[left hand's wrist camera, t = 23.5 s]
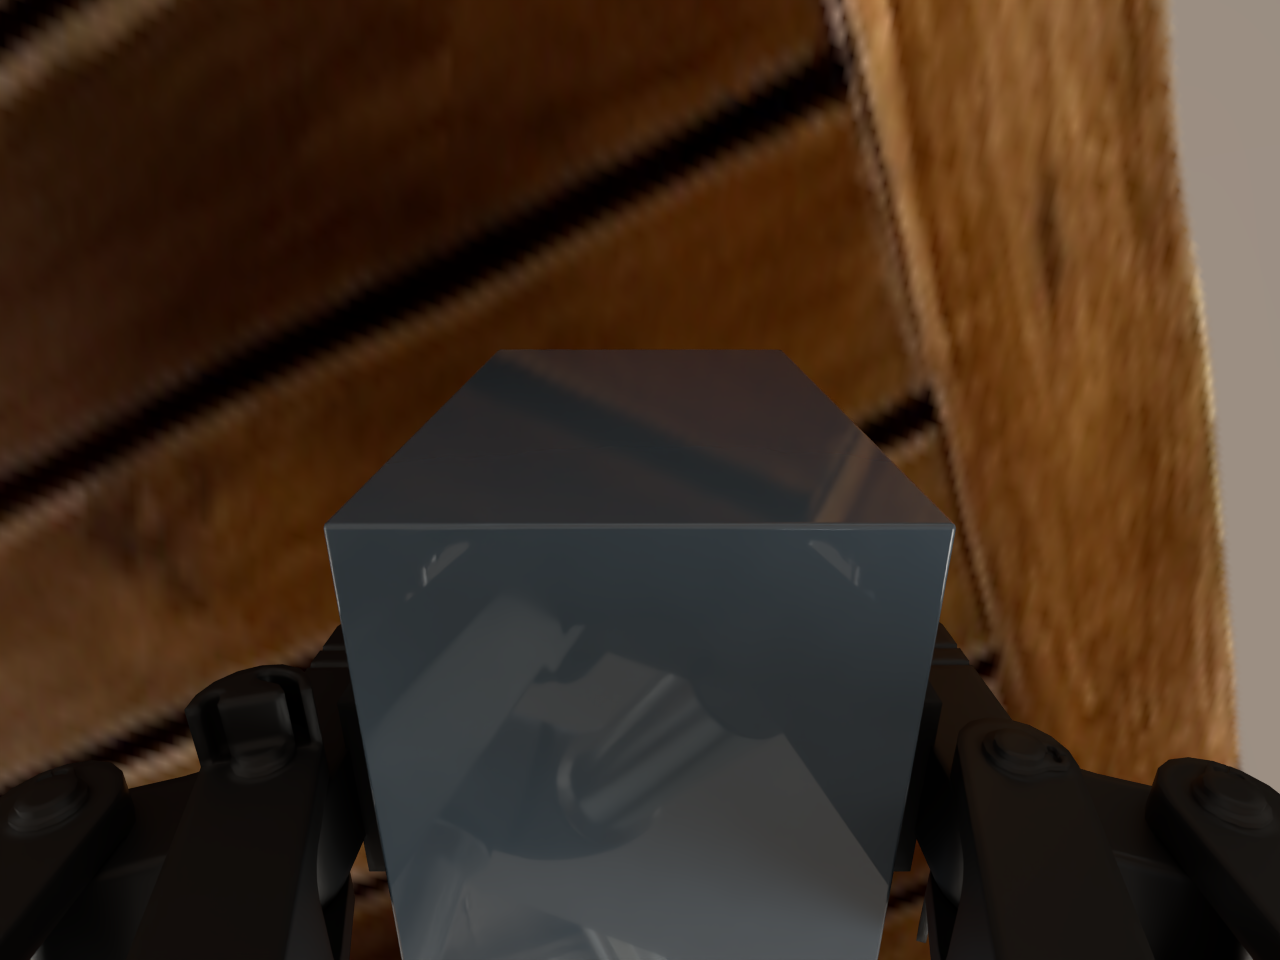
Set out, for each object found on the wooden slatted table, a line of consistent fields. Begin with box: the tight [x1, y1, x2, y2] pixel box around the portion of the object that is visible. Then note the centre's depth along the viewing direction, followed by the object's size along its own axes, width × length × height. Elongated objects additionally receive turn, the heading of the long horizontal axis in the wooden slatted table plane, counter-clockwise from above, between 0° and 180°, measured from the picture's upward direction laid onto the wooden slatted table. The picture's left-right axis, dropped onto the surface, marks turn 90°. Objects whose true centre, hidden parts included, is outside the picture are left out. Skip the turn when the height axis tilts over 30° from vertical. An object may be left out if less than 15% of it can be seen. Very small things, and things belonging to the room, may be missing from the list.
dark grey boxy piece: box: [324, 350, 956, 960], centre depth 11 cm, size 8×6×8 cm
